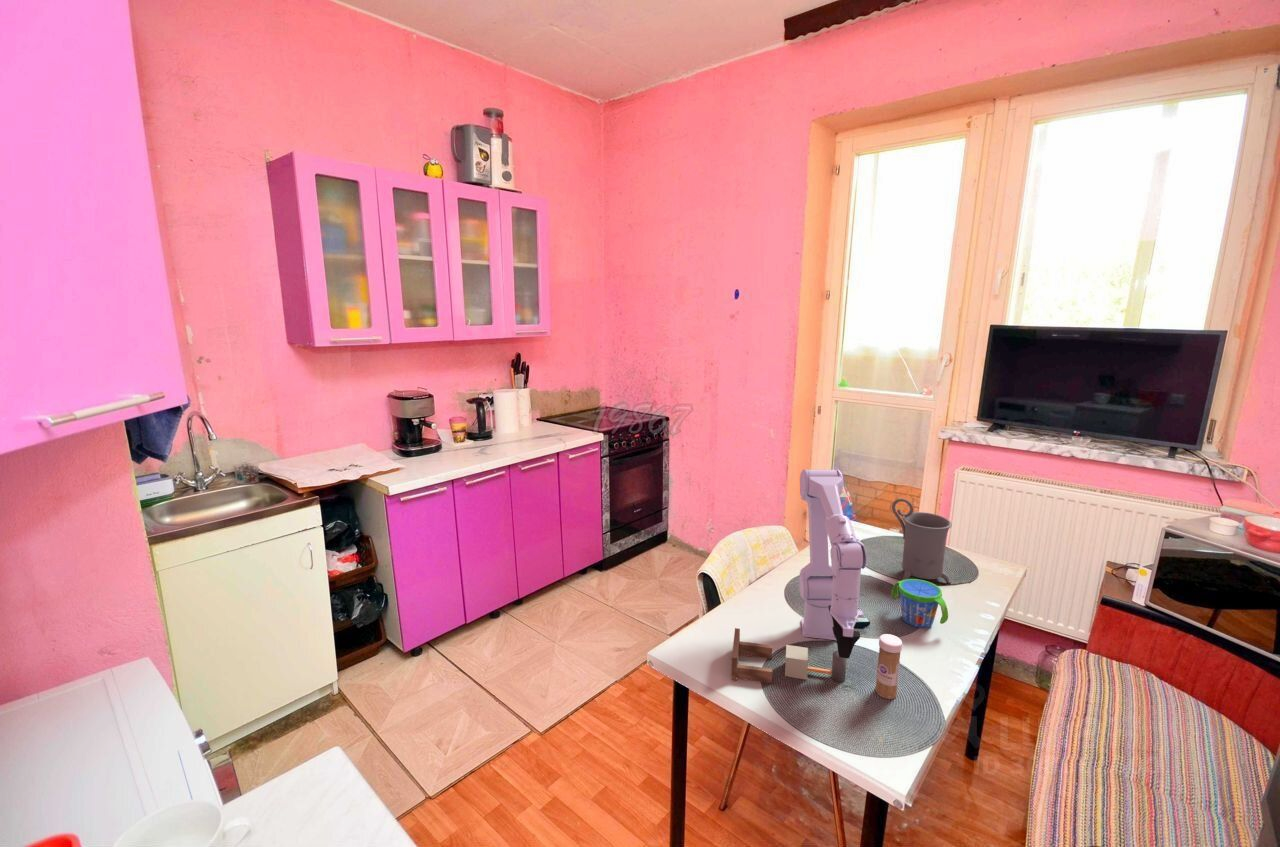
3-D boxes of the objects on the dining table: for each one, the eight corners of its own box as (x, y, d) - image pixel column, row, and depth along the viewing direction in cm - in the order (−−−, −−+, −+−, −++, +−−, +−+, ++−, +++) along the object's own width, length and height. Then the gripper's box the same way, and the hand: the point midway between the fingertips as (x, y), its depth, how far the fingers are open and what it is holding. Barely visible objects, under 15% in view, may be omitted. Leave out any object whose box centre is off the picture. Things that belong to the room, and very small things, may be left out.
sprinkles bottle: (872, 693, 120) (876, 640, 118) (878, 683, 124) (883, 630, 121) (894, 703, 118) (899, 648, 115) (899, 691, 121) (904, 638, 118)
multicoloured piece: (844, 672, 128) (845, 649, 127) (845, 686, 123) (847, 662, 122) (785, 663, 132) (786, 641, 130) (785, 676, 127) (785, 653, 126)
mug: (954, 574, 173) (962, 501, 168) (947, 594, 162) (956, 515, 157) (892, 559, 184) (897, 490, 179) (881, 577, 173) (887, 503, 168)
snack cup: (880, 611, 153) (883, 578, 151) (908, 603, 157) (911, 571, 155) (926, 641, 139) (929, 605, 137) (956, 632, 142) (960, 597, 140)
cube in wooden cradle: (771, 653, 135) (772, 632, 134) (771, 685, 124) (772, 662, 122) (734, 649, 137) (735, 628, 136) (731, 680, 126) (731, 657, 124)
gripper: (870, 612, 113) (865, 669, 116) (859, 579, 127) (855, 630, 130) (834, 608, 115) (831, 664, 118) (827, 576, 129) (824, 627, 132)
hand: (841, 646), depth 124 cm, fingers open, 7 cm apart
